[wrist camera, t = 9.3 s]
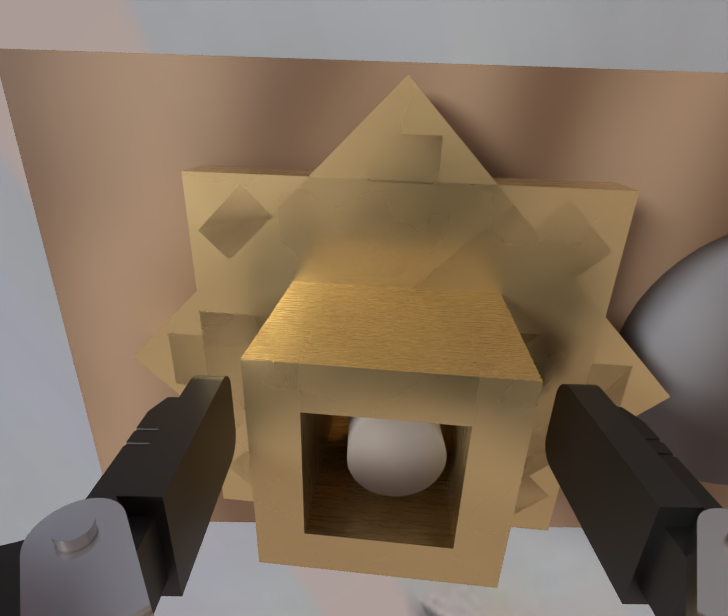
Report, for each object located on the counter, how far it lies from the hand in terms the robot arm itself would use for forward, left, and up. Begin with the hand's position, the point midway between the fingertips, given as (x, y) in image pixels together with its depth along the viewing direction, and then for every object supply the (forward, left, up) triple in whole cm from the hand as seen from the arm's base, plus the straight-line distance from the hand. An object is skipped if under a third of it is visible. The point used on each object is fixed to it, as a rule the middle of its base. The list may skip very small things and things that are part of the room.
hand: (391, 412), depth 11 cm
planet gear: (0, 0, -3) cm, 3 cm away
